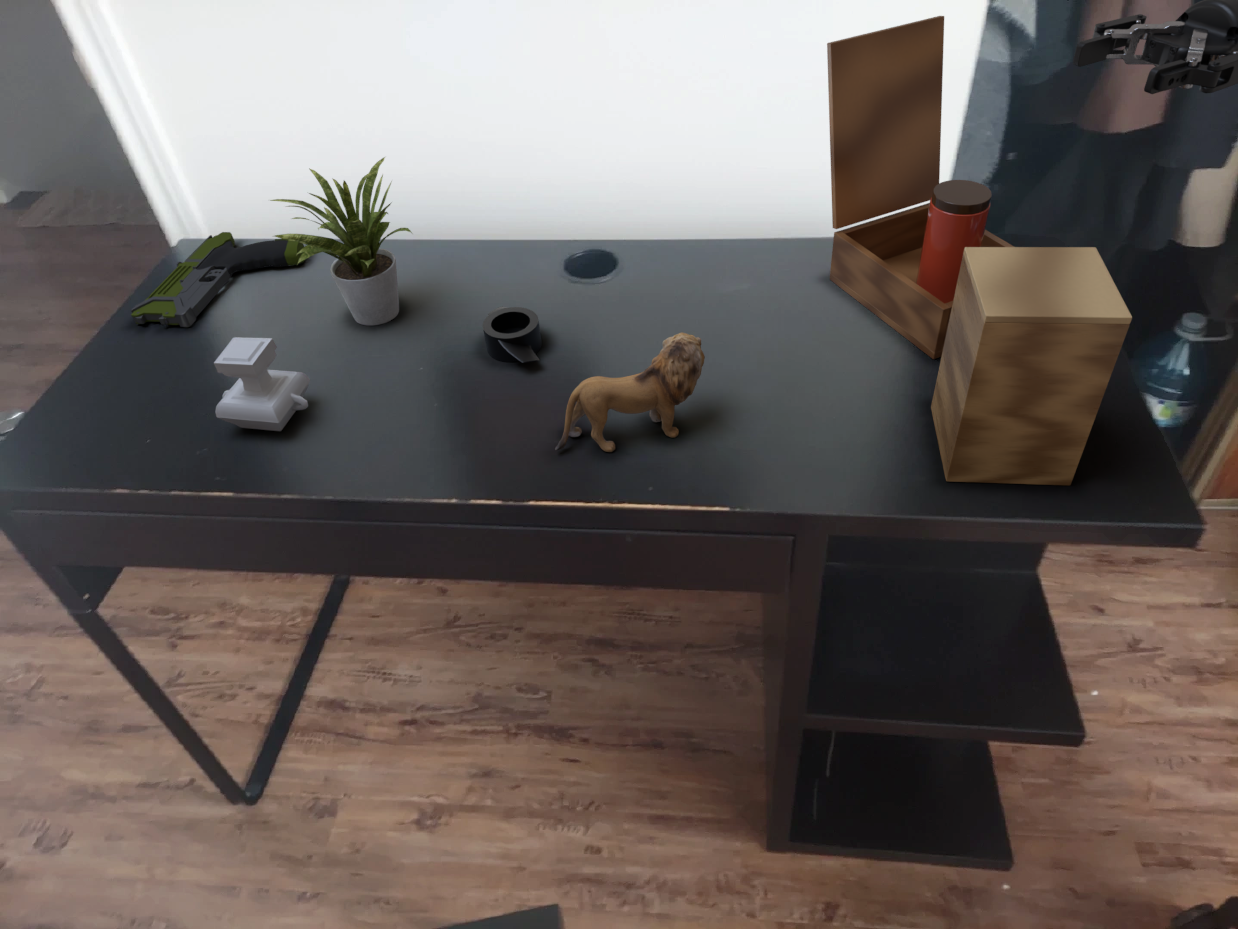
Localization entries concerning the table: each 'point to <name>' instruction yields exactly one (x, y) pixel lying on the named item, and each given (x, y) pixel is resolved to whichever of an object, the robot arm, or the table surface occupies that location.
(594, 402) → the lion figurine
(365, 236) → the house plant
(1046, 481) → the oak stand
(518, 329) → the duct tape
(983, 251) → the cork trivet
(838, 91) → the box lid
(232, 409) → the stamp
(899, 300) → the wooden box
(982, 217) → the spice jar
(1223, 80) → the robot arm
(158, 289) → the gun
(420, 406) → the table surface
